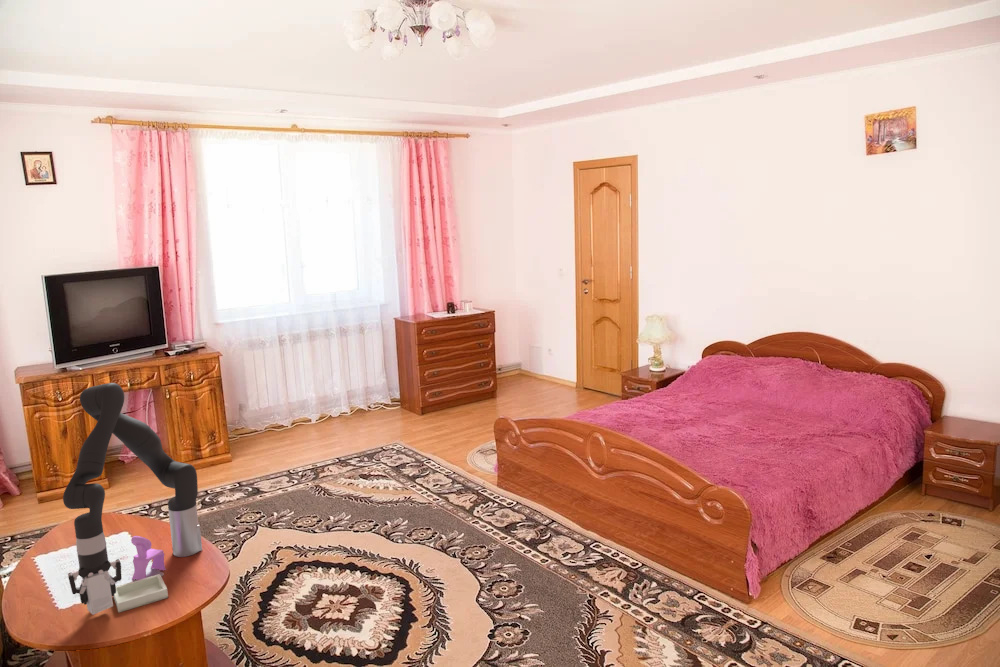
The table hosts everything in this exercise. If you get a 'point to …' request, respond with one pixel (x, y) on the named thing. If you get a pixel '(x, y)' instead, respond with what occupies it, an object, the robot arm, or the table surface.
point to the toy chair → (145, 557)
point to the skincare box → (98, 593)
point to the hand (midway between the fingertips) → (99, 599)
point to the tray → (140, 593)
